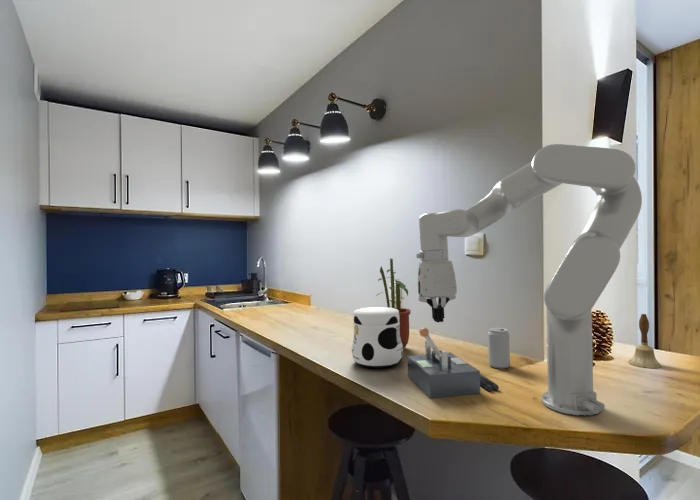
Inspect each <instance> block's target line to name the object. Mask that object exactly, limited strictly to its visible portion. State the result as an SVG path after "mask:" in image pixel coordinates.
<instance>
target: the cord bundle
mask: <svg viewBox="0 0 700 500" xmlns="http://www.w3.org/2000/svg"><path fill="white" fill-rule="evenodd" d="M480 387H482V388H484V389H485V390H486V391H488V392H491V391H493V390H494V391H498V390H499V385H498V384H497V383H495V382H494V381H492V380H491V379H489V378H488V377H485V376H484V375H483V374H481V373H480Z"/></svg>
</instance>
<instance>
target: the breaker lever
mask: <svg viewBox="0 0 700 500" xmlns="http://www.w3.org/2000/svg"><path fill="white" fill-rule="evenodd" d="M429 331H430V330H429V329H428V328H427V327H421V328H420V329H419V335H420V337H423V338H424V339H425V340H427V342H428V343H429V345H430V346H431V350H432V351H434V352H435V358H436V359H437V360H439V361H440V359H439V356H441V353H440V351H439V348H438V347H437V345H436V344H435V342H434V340H433V339H432V337H431V335H430V334H429V333H430V332H429Z"/></svg>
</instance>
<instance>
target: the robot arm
mask: <svg viewBox="0 0 700 500" xmlns="http://www.w3.org/2000/svg"><path fill="white" fill-rule="evenodd" d="M635 173H636V163H635V160H634V159H633V157H632V156H631V155H630V154H629V153H627V152H625V151H623V150H620V149H616V148H610V147H600V146H599V147H597V146H587V145H586V146H585V145H576V144H573V145H572V144H564V143H563V144H562V143H561V144H559V143H557V144H556V143H553V144H549V145H548V144H547V145H546V146H543V147H541V148H540V149H539V150H537V152H535V154H534V155H533V157H532V161H530V162H528V163H526V164H525V165H523V166H522V167H520V168H518V169H517V170H515V171H514V172H511V173H510V174H508V175H507V176H505V177H504V178H501V179H500V180H499V181H498V182H497V183H496V184H495V185H494V187H492V189H491V191H490V192H489V193H488V194H487V195H486V196H485V197H484V198H482V199H481V200H479V201H478V202H477V203H475V204H473V205H471V206H470V207H468V208H466V209H460V208H456V209H455V208H454V209H451V210H446V211H443V212H430V213H429V212H427V213H423V214H421V215H420V216H419V217H418V218H419V219H418V225H419V226H418V227H419V242H420V252H419V253H417V254H416V257H415V258H416V259H418V260H419V259H420V261H421V262H419V265H418V270H417V293H418V301H419V302H422V303H426V304H428V306H430V308H431V316H432V317H431V318H432V320H433V322H435V323H443V322H444V319H445V307H446V306H447V304H448V303H449V302H450V301H453V300H455V299H457V297H456V295H457V293H458V287H457V280H456V278H457V277H456V274H455V268H454V265H453V261H452V260H449V246H448V245H449V244H448V242H449V241H448V237H452V238H468V237H469V238H470V237H472V236H474V235H475V234H478V233H480V232H481V231H483V230H485V229H487V228H488V227H491V226H492V225H493V224H495V223H497V222H499V221H501V220H502V219H503V218H504V217H506V216H509V215H510V214H512V213H513V212H515V211H516V210H518V209H520V208H522V207H523V206H525V205H526V204H528V203H530V202H531V201H534V200H535V199H537V198H539V197H540V196H543V195H544V194H546V193H548V192H550V191H552V190H554V189H555V188H557V187H558V186H560V185H561V184H564V185H565V184H566V185H571V186H572V185H573V186H579V187H587V188H590V189H591V190H592V191H593V192H594V193H595V195H596V204H595V207H594V209H593V210H592V212H591V214H590V216H589V217H588V220H587V222H586V223H585V224H584V226H583V228H582V230H581V232H580V233H579V235H578V236H577V238H576V239H575V240H573V242H572V243H571V245H570V247H569V248H568V251H567V253H566V254H565V255H564V257H563V259H562V261H561V263H560V265H559V267H558V268H557V270H556V271H555V273H554V274H553V277H552V279H551V280H550V281H549V282H548V284H547V286H546V287H545V290H544V294H543V301H544V305H545V307H546V355H547V356H546V358H547V359H546V360H547V391H546V392H544V393H542V394H541V396H540V397H541V403H542V404H543V405H544V406H545V407H547V408H548V409H551V410H553V411H555V412H558V413H562V414H566V415H571V414H572V415H571V416H579V415H584V417H585V415H589V416H594V414H595V415H598V414H599V412H600V413H601V412H602V410H603V409H605V407H606V406H605V403H603V402H601V401H599V400H598V398H597V392H595V391H594V366H593V365H594V362H593V357H594V356H593V322H592V321H593V318H592V315H593V314H592V308H593V307H594V305H595V304H596V303H597V302H598V300H599V298H600V297H601V295H602V293H603V292H604V291H605V288H606V287H607V285H608V284H609V282H610V280H611V279H612V277H613V276H614V273H615V272H616V271H617V269H618V266H619V265H620V262H621V251H620V250H621V248H622V246H623V245H624V243H625V241H626V239H627V238H628V237H629V234H630V232H631V230H632V228H633V227H634V225H635V223H636V221H637V219H638V217H639V215H640V212H641V210H642V209H641V208H642V202H643V198H642V196H643V195H642V190H641V188H640V185H639V183H638V181H637V179H636V177H635V176H634V175H635Z"/></svg>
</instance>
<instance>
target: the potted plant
mask: <svg viewBox="0 0 700 500" xmlns="http://www.w3.org/2000/svg"><path fill="white" fill-rule="evenodd" d="M387 260H389V264H390V265H389V266H390V268H389V269H386V273H387V274H388V273H389V272H390V276H387V277H386V276H385V271H384V269H383V267H382V265H381V266H380V268H379V273H380V275H381V278H379V279H378V280H377V281H378V282H380V281H382V284H383V287H384V291H382V292H379V293H378V294H376V295H375V297H377V296H379V295H380V294H384V293H385V299H386V300H385V301H386V306H387V307H388V308H394V309H397V310H398V311H399V322H400V338H401V342H402V345H403V350H404V349H405V348H406V347H407V345H408V343H409V339H410V338H409V337H410V315H411V312H412V311H411V309H409V308H405V307H404V308H403V307H402V306H401V305H402V303H401V299H403V300H405V298H404V297H402V296H401V289H402V290H403V291H405V294H406V296H407V297H408V296H409V290H408V289H407V286H406V285H405V284H404V283H403V282H402V281H401V280H400V278H399V279H398V278H397V279H395V274H396V273H397V271H395V269H394V259H393V258H391V257H390V258H387V259H386V261H387ZM389 278H390V286H389V287H388V285H387V280H386V279H389ZM388 288H389V290H390V297H391V303H390V297H389V291H388ZM395 302H396V303H395ZM390 304H391V305H390Z"/></svg>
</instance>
